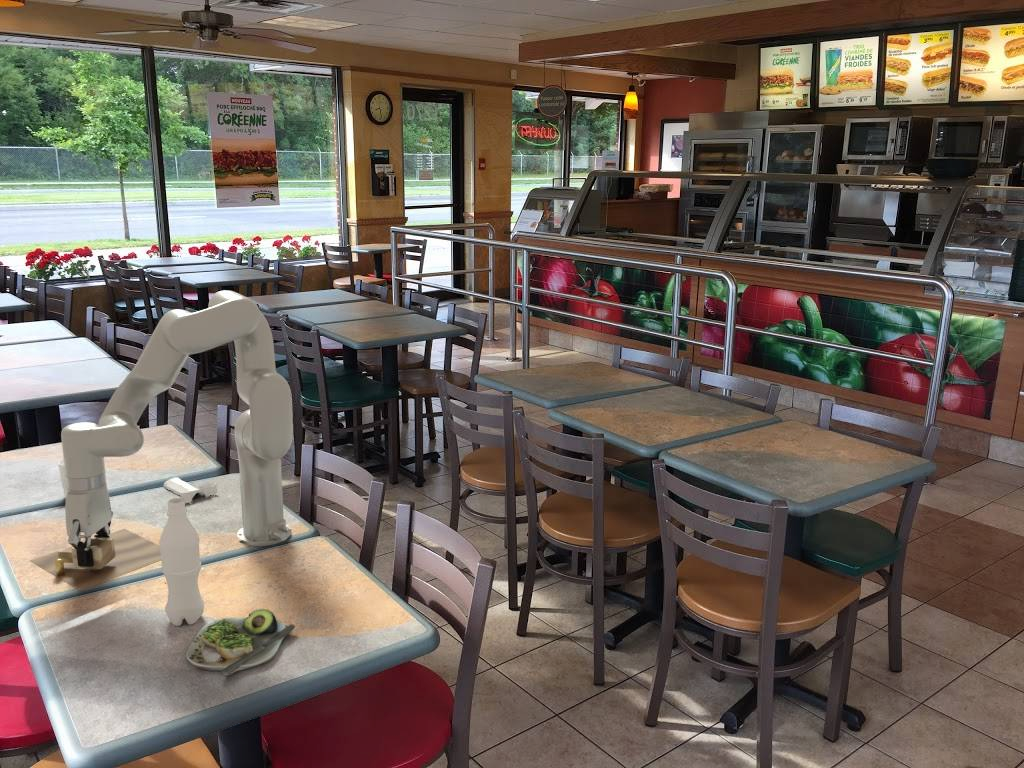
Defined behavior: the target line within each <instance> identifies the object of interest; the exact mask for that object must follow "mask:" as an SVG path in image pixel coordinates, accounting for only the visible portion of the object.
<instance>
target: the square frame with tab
mask: <svg viewBox="0 0 1024 768" xmlns="http://www.w3.org/2000/svg"><path fill="white" fill-rule="evenodd" d="M81 541H82V542H83V543H85V538H82V540H81ZM91 546H98V547H91ZM71 547H72V546H71ZM90 549H92V552H93V562H94V565H93V566H92V567H80V566H78V561H77V552H76V550H75V549H74V547H72V548H69V547H62V548H60V549H59V550H57V551H58V558H63V563H73V567H74V568H88V569H101V568H103V567H104V566H105V565H106V564H108V563H109V562H110V561H111V560H112V559H114V558H115V557H116V556H115V546H114V538H105V537H94V536H91V542H90Z"/></svg>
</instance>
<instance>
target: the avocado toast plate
mask: <svg viewBox="0 0 1024 768" xmlns="http://www.w3.org/2000/svg"><path fill="white" fill-rule="evenodd" d="M295 628H296V626H295V624H292V623H291V624H289V625H286V624H285V623H284V622H283V621H281V620H279V619H277V618H276V615H275V614H274V613H273V612H272V610H269V609H264V608H262V609H256V610H254V611H252V612H250V613H249V614H248V616H246V617H232V616H231V617H221V618H217V619H214V620H213V621H210V622H209V623H207V624H205V625H203V626H202V627H200V629H199V631H198V632H197V634H196V635H195V637H194V639H192V642H191V644H190V645H189V647H188V649H187V650H186V653H185V658H186V661H187V662H188V663H189V664H191V666H193V667H195V668H198V669H201V670H204V671H208V670H209V672H220V674H221V675H222V676H224V677H225V676H230V675H232V674H233V673H235V672H240V671H241V670H242V671H243V670H245V669H246V670H247V669H250V668H254V667H256V666H259V665H261V664H265V663H267V662H268V661H271V659H273V657H274V656H275V655H276V654H277V652H278V650H279V648H280V647H281V643H282V642H283V640H284V639H285V638H286V637H287V636H288V635H290V633H292V632H293V630H295ZM206 646H208V647H209V646H210V648H212V649H216V651H217V653H218V655H220V659H219V660H220V661H219V660H215V662H214V661H208V660H207V659H206V658H205V657H204V656H203V650H204V647H206ZM221 659H222V660H221ZM206 660H207V661H208V662H207V661H206Z"/></svg>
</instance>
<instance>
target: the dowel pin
mask: <svg viewBox="0 0 1024 768" xmlns="http://www.w3.org/2000/svg"><path fill="white" fill-rule="evenodd" d="M55 568H56V576H63V575H64V574H65V571H64V563H63V558H57V559H55ZM56 576H55V577H56Z"/></svg>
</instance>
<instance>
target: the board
mask: <svg viewBox="0 0 1024 768" xmlns="http://www.w3.org/2000/svg"><path fill="white" fill-rule="evenodd" d="M109 537H110V538H114V546H115V556H116V557H115V558H114V559H112V560H111V561H110V562H109V563H108V564H106V565H105V566H104V567H103V568H101V569H88V568H74V567H73V563H64V571H65V574H64V575H63V576H56V568H55V559H57V558H58V551H59V550H57V551H53V552H51V553H48V554H46V555H45V554H44V555H42V556H39V557H36V558H32V559H30V560H29V562H31V563H32V564H35V565H36V566H38V567H39V568H41V569H43V570H44V571H46V572H48V573H49V574H51V575H52V576H54V577H56V578H59V580H61V581H62V582H64V583H67V584H68V585H70V586H71V587H73V588H75V589H76V590H78V591H81V592H82V591H83V590H87V589H89V588H92V587H95V586H96V585H99V584H103V583H104V582H107V581H110V580H113V579H115V578H118V577H121V576H123V575H126V574H128V573H132V572H133V571H137V570H139V569H141V568H145V567H147V566H149V565H152V564H155V563H158V562H160V561H161V550H160V546H159V544H158V543H155V542H153V541H151V540H149V539H147V538H145V537H143V536H141V535H139V534H137V533H134V532H133V531H132V530H131V531H130V530H128V529H127V528H123V529H120V530H117V531H113V532H110V534H109ZM91 547H98V546H91ZM68 548H72V546H69V547H68Z"/></svg>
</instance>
